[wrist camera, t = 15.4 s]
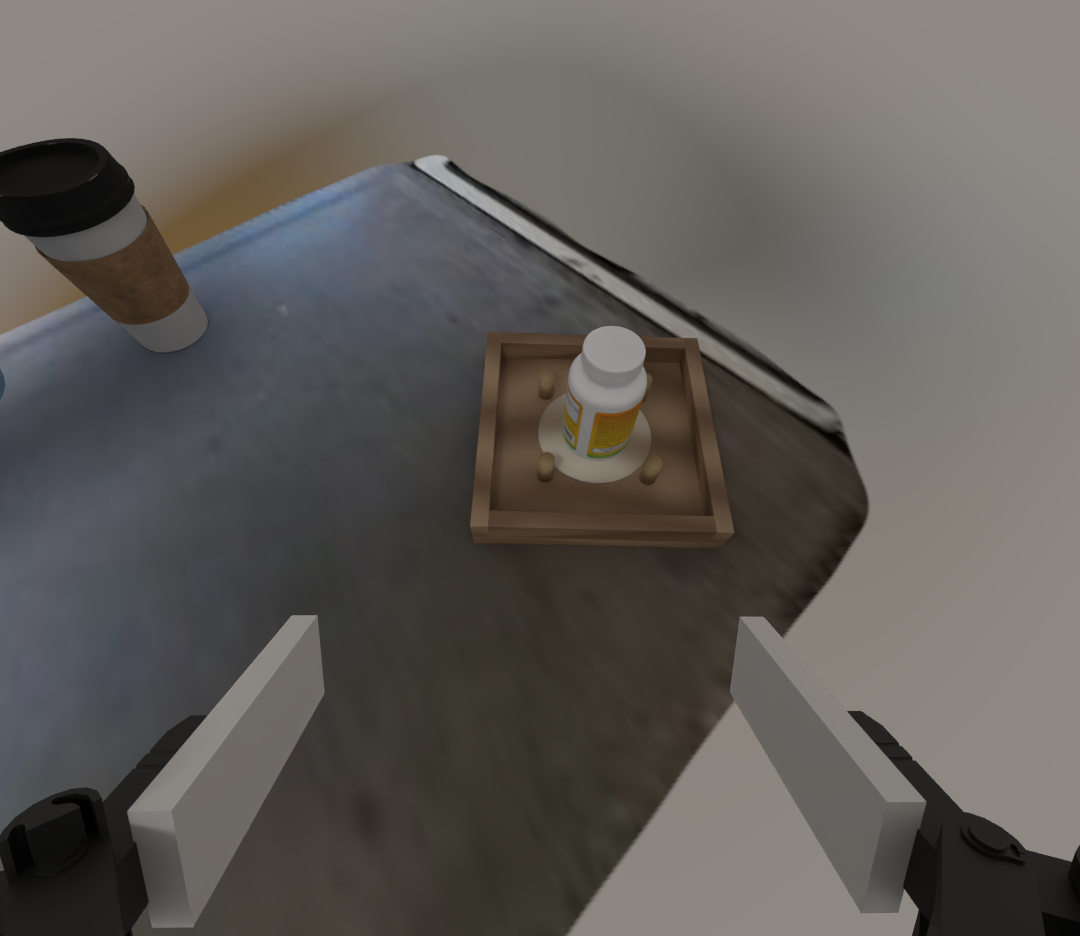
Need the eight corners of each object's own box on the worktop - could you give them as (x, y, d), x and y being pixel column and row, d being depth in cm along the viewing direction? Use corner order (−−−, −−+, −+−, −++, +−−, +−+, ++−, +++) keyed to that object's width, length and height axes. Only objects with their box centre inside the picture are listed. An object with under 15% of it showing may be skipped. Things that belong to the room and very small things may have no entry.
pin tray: (719, 548, 37) (737, 529, 34) (473, 542, 37) (469, 522, 34) (687, 362, 46) (699, 333, 43) (489, 356, 46) (487, 326, 43)
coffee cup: (107, 329, 46) (-56, 160, 33) (195, 284, 49) (77, 114, 36) (150, 379, 43) (-9, 216, 30) (240, 329, 47) (131, 162, 34)
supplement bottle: (640, 424, 41) (671, 337, 32) (610, 474, 38) (635, 394, 30) (581, 396, 42) (596, 305, 34) (549, 443, 40) (556, 357, 31)
